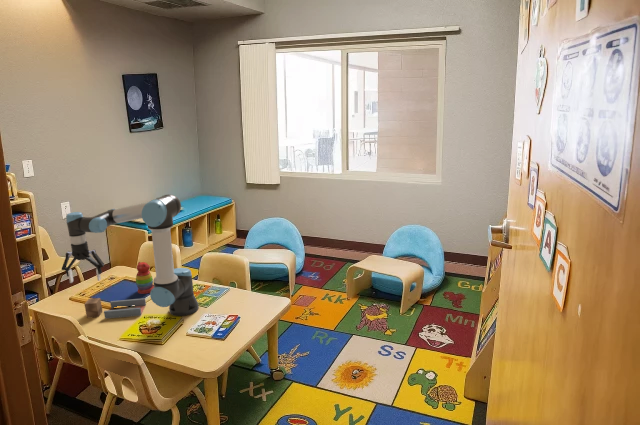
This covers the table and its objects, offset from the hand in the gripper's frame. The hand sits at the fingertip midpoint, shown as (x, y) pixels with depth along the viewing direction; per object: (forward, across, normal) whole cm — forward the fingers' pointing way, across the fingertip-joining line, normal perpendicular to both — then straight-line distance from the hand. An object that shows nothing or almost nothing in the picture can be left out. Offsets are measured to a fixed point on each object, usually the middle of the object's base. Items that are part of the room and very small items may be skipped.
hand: (85, 280), depth 241 cm
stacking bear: (+20, -23, -26) cm, 40 cm away
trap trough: (+19, -18, 0) cm, 26 cm away
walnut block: (+20, -2, 0) cm, 20 cm away
